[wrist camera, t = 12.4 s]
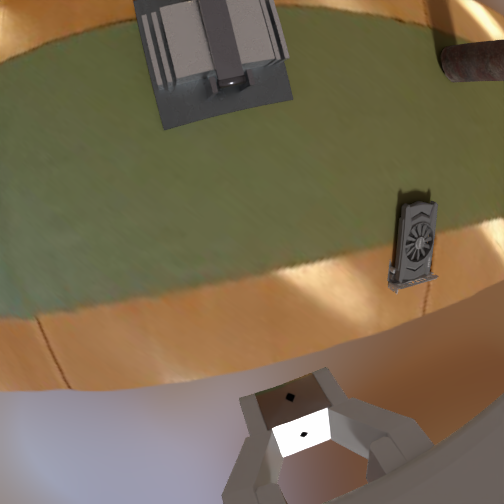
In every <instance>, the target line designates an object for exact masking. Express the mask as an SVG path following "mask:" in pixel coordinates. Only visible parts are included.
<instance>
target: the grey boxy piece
mask: <svg viewBox="0 0 504 504" xmlns="http://www.w3.org/2000/svg"><path fill="white" fill-rule="evenodd" d="M133 2H134V7H135V12H136V16H137V21H138V26H139V30H140V35H141V39H142V44H143V48H144V52H145V56H146V61H147V65H148V69H149V73H150V77H151V81H152V85H153V89H154V93H155V97H156V101H157V105H158V109H159V113H160V117H161V120H162V124H163V128H164V130H168V129H171V128H174V127H178V126H181V125H185V124H188V123H192V122H195V121H199V120H203V119H206V118H210V117H214V116H218V115H222V114H226V113H231V112H235V111H239V110H244V109H248V108H253V107H257V106H262V105H267V104H272V103H278V102H283V101H289V100H293V96H292V92H291V88H290V84H289V80H288V75H287V71H286V67H285V64H284V61H285V60H287V59H289V58H290V57H289V54H288V50H287V46H286V42H285V39H284V35H283V31H282V28H281V24H280V21H279V17H278V14H277V10H276V7H275V4H274V0H226V2H227V6H228V10H229V14H230V18H231V22H232V26H233V31H234V35H235V39H236V43H237V47H238V51H239V55H240V60H241V64H242V68H243V72H244V74H245V76H246V80H247V83H246V84H241V85H236V86H231V87H227V88H222V89H219V88H218V85H217V76H216V71H215V67H214V63H213V59H212V55H211V51H210V47H209V42H208V38H207V34H206V30H205V26H204V22H203V18H202V14H201V10H200V5H199V1H198V0H136V1H133Z"/></svg>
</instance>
